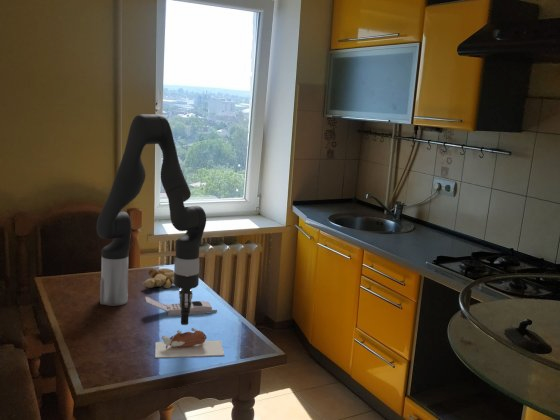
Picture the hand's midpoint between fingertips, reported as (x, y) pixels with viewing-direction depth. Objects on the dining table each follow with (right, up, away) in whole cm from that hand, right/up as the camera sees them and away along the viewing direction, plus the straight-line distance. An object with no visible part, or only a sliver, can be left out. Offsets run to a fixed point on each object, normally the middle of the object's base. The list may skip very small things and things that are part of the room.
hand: (184, 323), depth 167 cm
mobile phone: (-5, -1, +23) cm, 23 cm away
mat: (+3, -6, -5) cm, 9 cm away
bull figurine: (0, -3, 0) cm, 3 cm away
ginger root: (-18, +5, +50) cm, 54 cm away
